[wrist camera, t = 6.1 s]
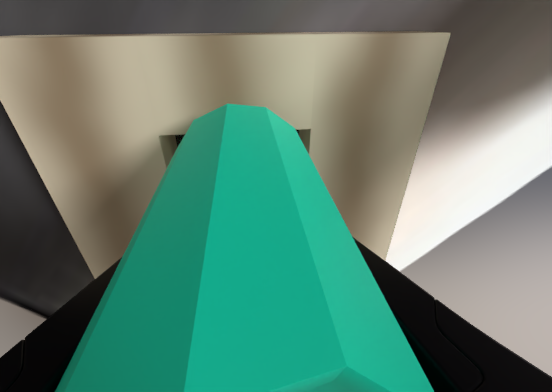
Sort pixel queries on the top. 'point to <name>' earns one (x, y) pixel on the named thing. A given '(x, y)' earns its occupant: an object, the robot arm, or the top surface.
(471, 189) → the top surface
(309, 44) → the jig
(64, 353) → the robot arm
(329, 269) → the candle
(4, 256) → the top surface
